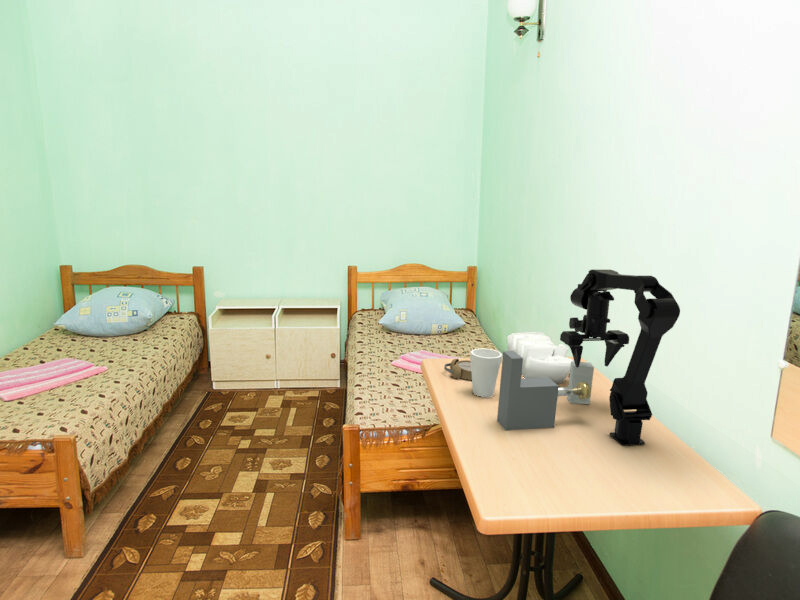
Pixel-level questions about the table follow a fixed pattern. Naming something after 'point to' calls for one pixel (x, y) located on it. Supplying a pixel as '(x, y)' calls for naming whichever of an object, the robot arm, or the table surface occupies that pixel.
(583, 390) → the shaft
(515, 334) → the wavy white extrusion
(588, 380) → the skincare box
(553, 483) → the table surface
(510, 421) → the block
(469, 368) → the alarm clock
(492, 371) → the foam cup
